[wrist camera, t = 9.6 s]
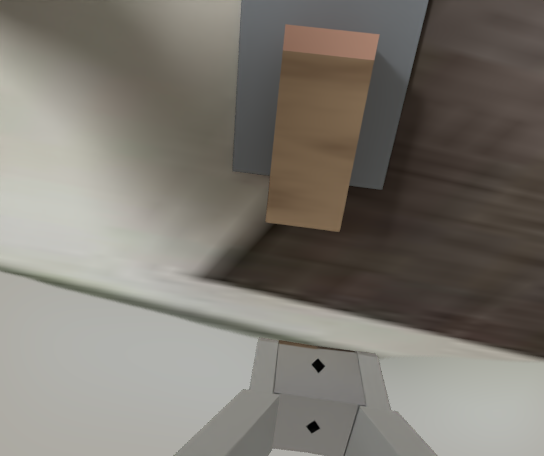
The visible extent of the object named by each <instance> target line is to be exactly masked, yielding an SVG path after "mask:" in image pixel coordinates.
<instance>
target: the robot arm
mask: <svg viewBox="0 0 544 456" xmlns="http://www.w3.org/2000/svg"><path fill="white" fill-rule="evenodd" d="M272 448H274V449H282V450H291V451H300V452H308V453H313V454H318V455H324V456H437V455H436V453H435V452H434V451H433V450H432V449H431V448H430V447H429V446H428V445H427V443H425V441H424V440H423V439H422V438H421V437H420V436H419V435H418V434H417V432H416V431H415V430H414V429H413V428H412V427H411V426H410V425H409V424H408V422H407V421H406V420H405V419H404V418H403V417H402V416H401V415H400V414H399V413H398V412H397V411H392V410H391V408H390V404H389V400H388V396H387V392H386V388H385V384H384V380H383V375H382V371H381V368H380V363H379V359H378V356H377V355H376V354H375V353H368V352H360V351H350V350H343V349H335V348H327V347H319V346H312V345H306V344H300V343H293V342H287V341H281V340H279V342H278V340H272V339H266V338H260V337H259V339H258V342H257V348H256V354H255V359H254V365H253V370H252V376H251V382H250V388H249V390H246V389H243V390H242V391H241V392H240V393H239V394H238V395H236V396H235V397H234V399H232V400H231V401H230V402H229V403H228V404H227V405H226V406H225V407H224V408H223V409H222V410H221V411H220V412H219V413H218V414H217V415H215V416H214V417H213V418H212V420H210V421H209V422H208V423H207V424H206V425H205V426H204V427H203V428H202V429H201V430H200V431H199V432H198V433H197V434H196V435H195V436H194V437H192V438H191V439H190V440H189V441H188V442H187V443H186V444H185V445H184V446H183V447H182V448H181V449H180V450H179V451H178V452H177V453H176V454H175V455H174V456H268V455H269V453H270V452H271V450H272Z"/></svg>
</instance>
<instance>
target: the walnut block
mask: <svg viewBox="0 0 544 456" xmlns="http://www.w3.org/2000/svg"><path fill="white" fill-rule="evenodd" d="M379 35H380V34H372V33H362V32H353V31H343V30H334V29H325V28H315V27H306V26H296V25H287V24H285V34H284V44H283V54H282V63H281V73H280V83H279V93H278V103H277V113H276V123H275V133H274V143H273V152H272V162H271V172H270V182H269V192H268V202H267V212H266V222H268V223H275V224H283V225H290V226H298V227H306V228H313V229H321V230H328V231H336V232H340V228H341V223H342V218H343V213H344V208H345V203H346V198H347V193H348V188H349V183H350V178H351V173H352V168H353V163H354V158H355V153H356V149H357V144H358V139H359V134H360V129H361V124H362V119H363V114H364V109H365V104H366V99H367V94H368V89H369V84H370V79H371V74H372V69H373V64H374V60H375V55H376V50H377V45H378V40H379Z"/></svg>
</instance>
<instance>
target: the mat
mask: <svg viewBox="0 0 544 456" xmlns="http://www.w3.org/2000/svg"><path fill="white" fill-rule="evenodd" d="M428 1H429V0H242V2H241V21H240V40H239V58H238V77H237V96H236V115H235V133H234V152H233V171H236V172H244V173H252V174H260V175H268V176H270V172H271V162H272V152H273V143H274V133H275V123H276V113H277V103H278V93H279V83H280V73H281V63H282V54H283V44H284V34H285V24H287V25H296V26H306V27H315V28H325V29H334V30H343V31H353V32H362V33H372V34H380V35H379V40H378V45H377V50H376V55H375V60H374V64H373V69H372V74H371V79H370V84H369V89H368V94H367V99H366V104H365V109H364V114H363V119H362V124H361V129H360V134H359V139H358V144H357V149H356V153H355V158H354V163H353V168H352V173H351V178H350V183H349V186H356V187H364V188H372V189H380V190H382V188H383V184H384V180H385V176H386V172H387V168H388V164H389V160H390V156H391V152H392V147H393V143H394V139H395V135H396V131H397V127H398V123H399V119H400V115H401V111H402V107H403V103H404V98H405V94H406V90H407V86H408V82H409V78H410V74H411V70H412V66H413V62H414V58H415V54H416V50H417V45H418V41H419V37H420V33H421V29H422V25H423V21H424V17H425V13H426V9H427V5H428Z"/></svg>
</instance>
